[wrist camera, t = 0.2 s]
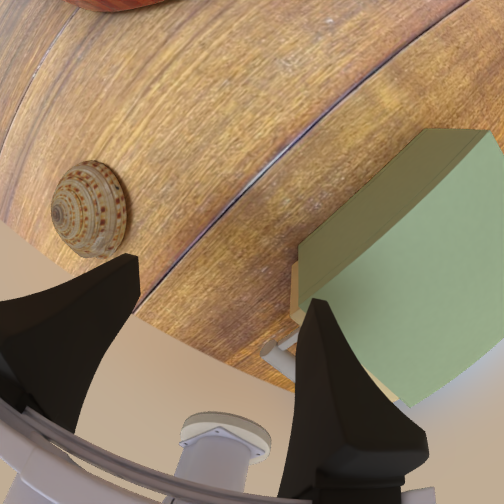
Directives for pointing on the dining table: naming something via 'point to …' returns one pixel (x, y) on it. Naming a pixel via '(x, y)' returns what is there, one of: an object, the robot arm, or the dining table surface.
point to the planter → (111, 4)
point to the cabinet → (417, 262)
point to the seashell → (89, 210)
